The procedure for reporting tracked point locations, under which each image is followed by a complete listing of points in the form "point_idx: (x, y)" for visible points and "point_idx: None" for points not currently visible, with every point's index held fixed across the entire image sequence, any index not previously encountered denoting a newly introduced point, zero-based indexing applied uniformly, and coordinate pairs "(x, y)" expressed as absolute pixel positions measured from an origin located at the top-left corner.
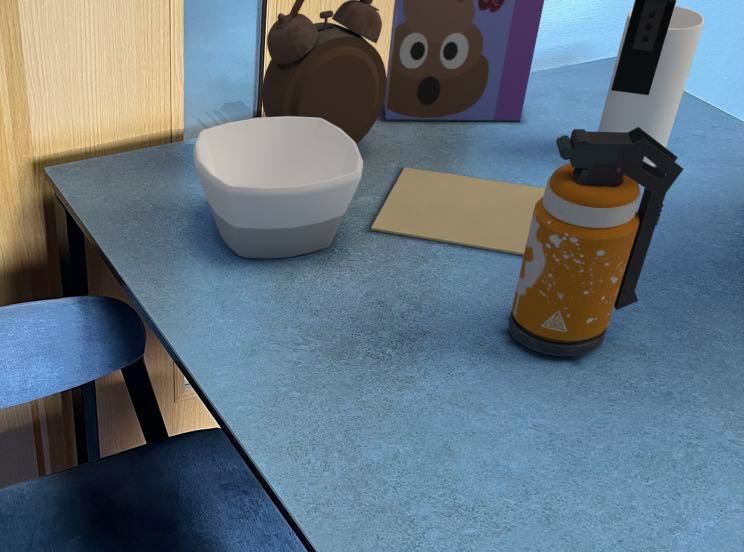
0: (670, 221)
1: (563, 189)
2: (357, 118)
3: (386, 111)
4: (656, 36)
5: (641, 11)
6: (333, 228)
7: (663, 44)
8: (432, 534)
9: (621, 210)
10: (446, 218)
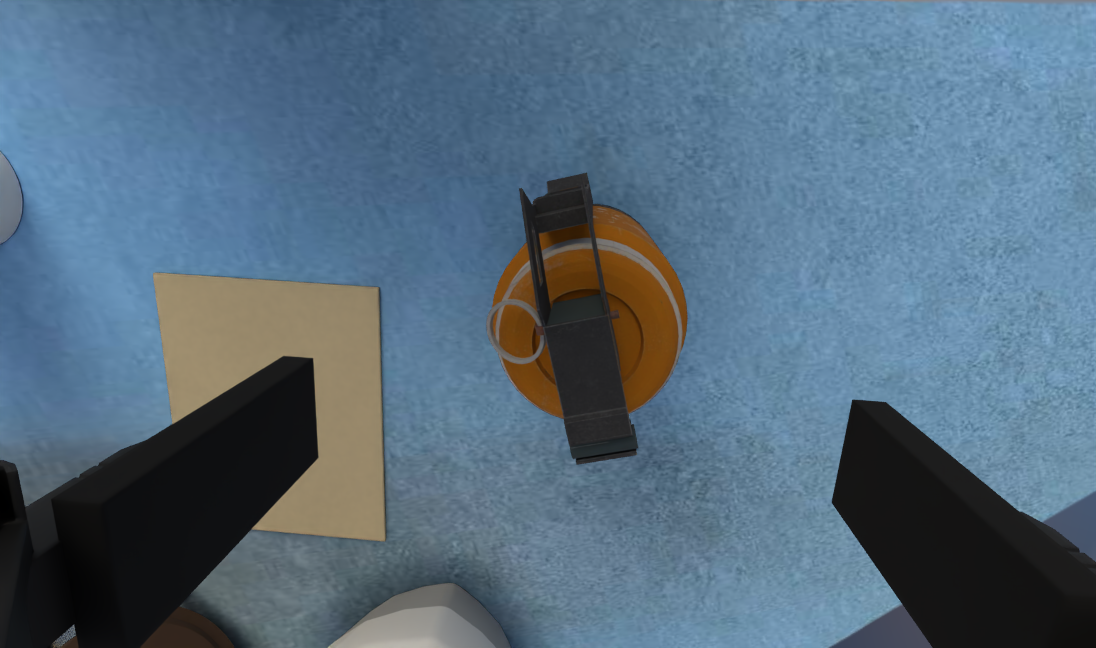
0: (176, 107)
1: (648, 399)
2: (152, 640)
3: None
4: (1071, 548)
5: None
6: (456, 602)
7: (981, 482)
8: (1058, 378)
9: (662, 277)
10: (318, 449)
